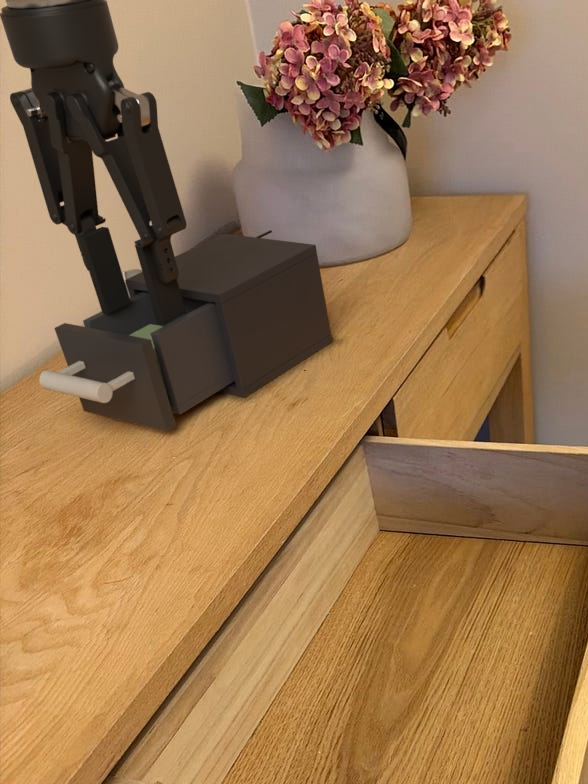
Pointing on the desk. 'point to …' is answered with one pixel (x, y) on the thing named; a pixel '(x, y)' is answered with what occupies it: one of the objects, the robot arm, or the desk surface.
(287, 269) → the cabinet
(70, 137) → the robot arm
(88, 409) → the drawer
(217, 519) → the desk surface
